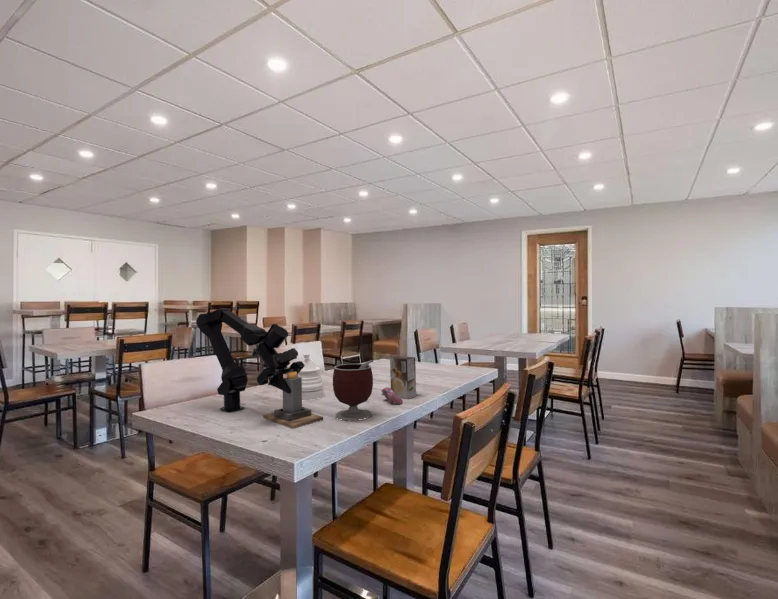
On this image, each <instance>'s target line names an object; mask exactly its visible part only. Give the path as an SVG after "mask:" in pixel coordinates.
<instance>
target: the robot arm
mask: <svg viewBox="0 0 778 599" xmlns="http://www.w3.org/2000/svg"><path fill="white" fill-rule="evenodd" d="M195 321H196V326H197V327H198V329H199V331H200V332H201V333H202V334H203V335H204V336H206V337H207V338H208V340H209V343H210V344H211V347H212V349H213V352H214V354H215V356H216V358H217V360H218V363H219V366H220V367H221V370H222V372H221V375H220V376H221V377H220V380H221V383H220V384H219V386H218V387H217V389H216V390H217V394H218V395H219V396H223V406H222V407H220V408H219V410H222V411H223V412H226V413H230V412H235V411H239V410H243V409H245V407H244V406H242V405H241V392H244V391H246V387H247V384H248V381H249V379H248V373H247V372H246V370H245V367H244V366H243V365H240V366H239V365H237V364H236V362H235V360H234V357H233V356H232V355H233V354H232V353H231V351H230V348H229V346H228V344H227V342H226V339H225V337H224V335H223V333H222V329H223V323H224V325H227V326H228V327H229V328H231V329H232V330H233V331H235V332H236V333H238V334H239V335H240V338H241V340H242V342H244V343H245V344H246V345H247V346H250V347H251V346H256V347H255V348H253V349H252V350H253V351H252V354H251V356H252V357H257V356H258V357H259V358H260V360H261V361H262V362H263V365H262V367H263V369H262V370H261V372H260V373H259V374H258V376H257V377H256V383H257V384H258V385H259V386H264V385H266V384H267V385H268V386H272V387H274V388H275V389H276V388H277V389H279V390H281V391H282V392H283V391H284V392H286V393H288V394H290V393H291V389H290V388H289V386H288V384H287V383H286V381H285V380H284V378H285V377H284V376H286V377H287V372H291V371H296V372H297V377H298V373H299V372H300V371H301V370H302V369H303V367H304V366H305V365H304V364H303V362H302V361H301V360H298V361H294V362H292V363H291V361H293V360H297V359H298V357H299V351H298V350H297V349H296V348H295V347H293V348H290V349H287V350H285V351H283V352H278V351H277V349H279V348H280V347H281V345H282V344H283V343H284V342H285V340H286V339H287V338H288V337H289V332H288V330H287V329H286V328H284V327H282V326H280V325H279V324H277V323H272V324H271V326H270V328H269V329H268V330H267V331H266V329H264V328H263V327H260V326H258V325H253V324H250V323H248V322H247V321H246V320H244V319H243V318H241V317H240V316H239V315H237V314H235V313H234V312H233V311H232V310H231V309H230V308H217V309H215V310H213V311H210V312H206V313H200V314H198V316H197V318H196V320H195ZM267 379H268V381H269V382H268V381H267ZM267 382H268V383H267Z"/></svg>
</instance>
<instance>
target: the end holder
mask: <svg viewBox="0 0 778 599" xmlns="http://www.w3.org/2000/svg"><path fill="white" fill-rule="evenodd" d="M262 418H263V419H265V418H266V420H268V421H271V422H273V423H277V424H278V425H282V426H285V427H288V428H290V429H296V427H297V428H299V426H300V427H304V426H306V424H307V425H310V423H311V424H313V422H314V423H317V422H316V421H318V422H320V420H321V421H324V417H323V416H322V415H319V414H315V413H312V409H311V408H307V407H303V406H302V411H299V412H295V413H291V414H289V413H286V412H283V407H282V408H279V409H274V410H273V412H270V413H265V414H262ZM303 425H304V426H303Z"/></svg>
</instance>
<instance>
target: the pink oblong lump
mask: <svg viewBox="0 0 778 599" xmlns="http://www.w3.org/2000/svg"><path fill="white" fill-rule="evenodd" d="M381 395H382V396H384V397H385V399H386V400H387V401H388V402H389V403H390V404H394V403H395V404H397V405H402V404H403V403H404V401H403V398H400V397H399V396H397V395H396V394H395V392H394V391H393V390H392V389H391V387H390V386H389V387H384V388H382V389H381Z"/></svg>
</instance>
